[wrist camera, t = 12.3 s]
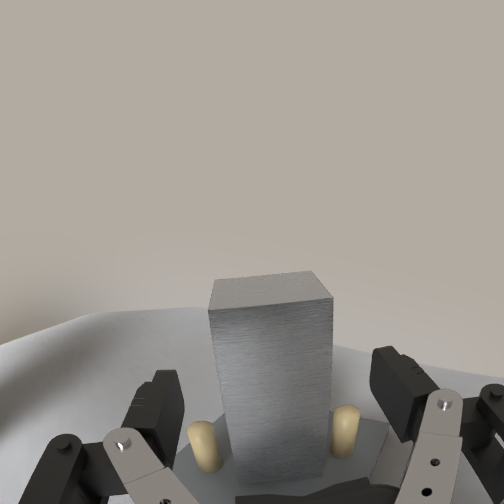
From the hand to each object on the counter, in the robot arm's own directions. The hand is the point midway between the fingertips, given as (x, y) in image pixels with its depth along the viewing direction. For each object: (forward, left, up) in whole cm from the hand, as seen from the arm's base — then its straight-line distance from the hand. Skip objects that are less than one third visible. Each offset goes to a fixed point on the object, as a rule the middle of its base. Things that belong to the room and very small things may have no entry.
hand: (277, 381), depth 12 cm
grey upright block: (-2, +3, -9) cm, 10 cm away
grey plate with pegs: (-2, +3, -10) cm, 10 cm away
